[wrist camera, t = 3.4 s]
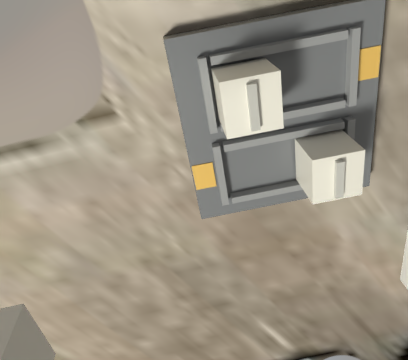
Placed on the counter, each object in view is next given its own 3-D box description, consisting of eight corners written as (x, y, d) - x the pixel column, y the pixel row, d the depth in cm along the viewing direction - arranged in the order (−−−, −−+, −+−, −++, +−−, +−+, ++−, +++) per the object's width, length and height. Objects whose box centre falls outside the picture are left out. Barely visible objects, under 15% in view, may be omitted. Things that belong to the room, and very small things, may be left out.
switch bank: (163, 36, 26) (163, 41, 24) (374, -5, 26) (392, -4, 24) (200, 209, 34) (202, 224, 32) (361, 177, 35) (373, 190, 33)
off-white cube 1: (211, 68, 26) (219, 84, 22) (264, 57, 26) (282, 71, 22) (219, 119, 28) (228, 141, 24) (268, 109, 28) (285, 130, 24)
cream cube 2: (294, 138, 30) (314, 162, 26) (341, 129, 30) (368, 152, 26) (296, 179, 32) (314, 207, 28) (340, 170, 32) (364, 197, 28)
